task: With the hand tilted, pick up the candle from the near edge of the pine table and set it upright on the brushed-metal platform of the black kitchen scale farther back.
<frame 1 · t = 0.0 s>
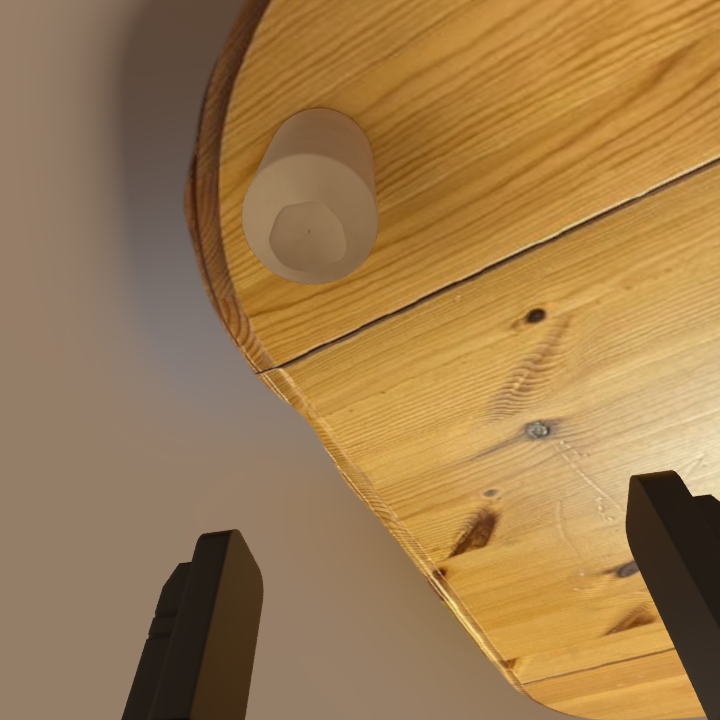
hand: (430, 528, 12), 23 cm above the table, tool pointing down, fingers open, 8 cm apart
candle: (321, 161, 30), on the table
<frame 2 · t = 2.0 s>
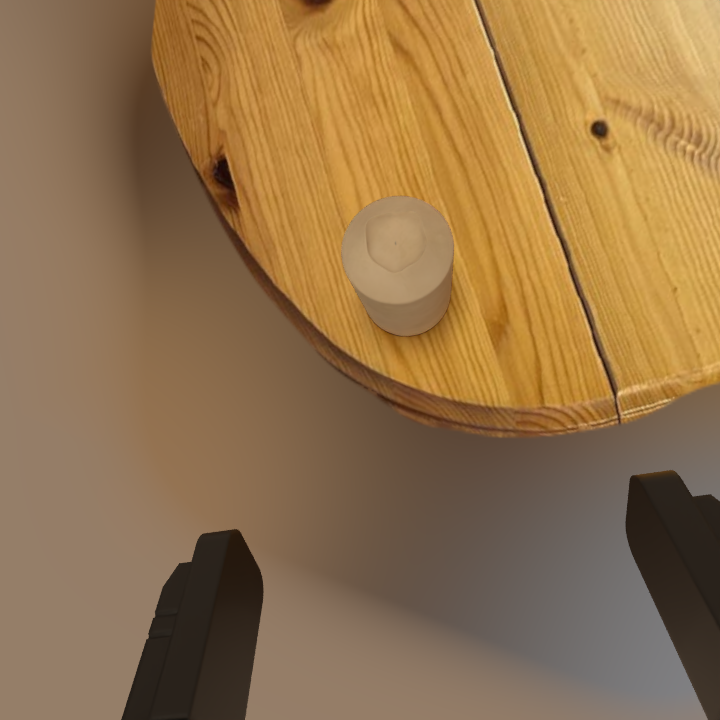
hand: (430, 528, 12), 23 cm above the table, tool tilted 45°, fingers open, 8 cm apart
candle: (407, 295, 36), on the table
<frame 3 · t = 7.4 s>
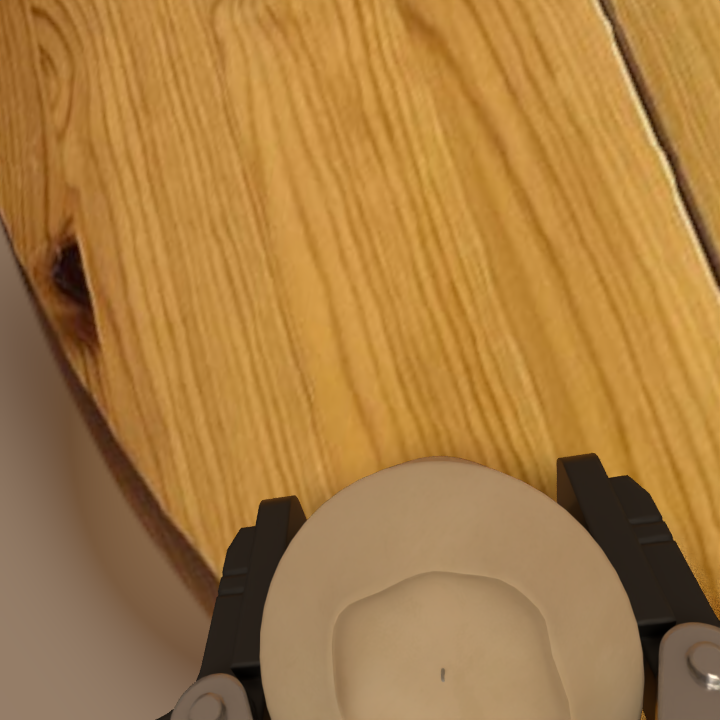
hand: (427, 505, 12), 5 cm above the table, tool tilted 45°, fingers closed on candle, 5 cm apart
candle: (442, 550, 17), on the table, touching gripper
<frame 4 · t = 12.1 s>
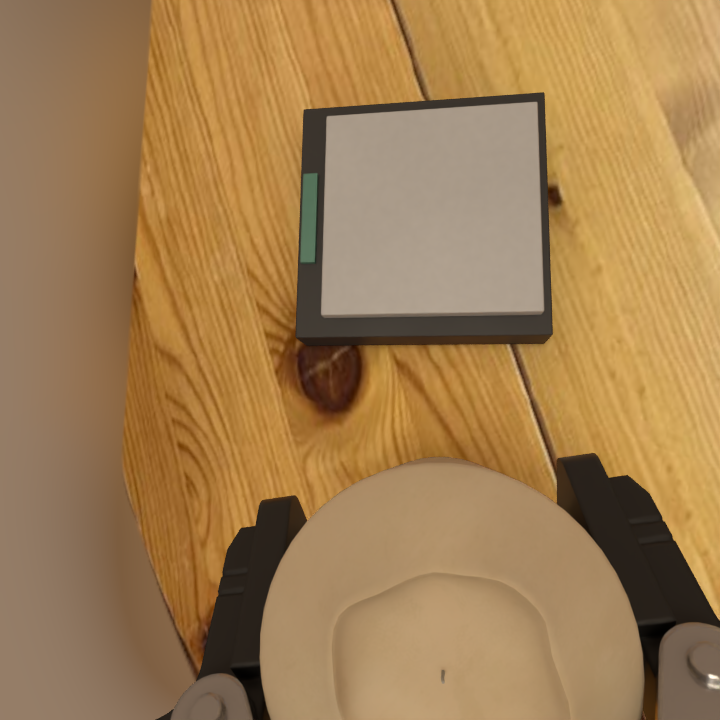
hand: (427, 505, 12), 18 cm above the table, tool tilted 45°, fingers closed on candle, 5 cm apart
candle: (442, 550, 17), point 13 cm above the table, touching gripper
scale: (421, 231, 32), on the table
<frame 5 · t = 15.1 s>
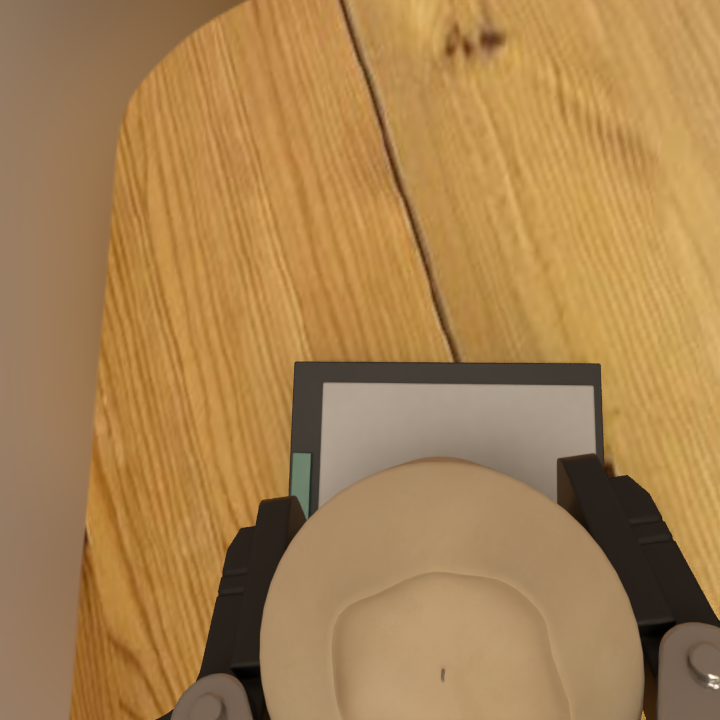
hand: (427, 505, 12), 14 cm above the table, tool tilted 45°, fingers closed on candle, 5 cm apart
candle: (442, 550, 17), point 9 cm above the table, touching gripper
scale: (440, 511, 26), on the table
when the fingers open (8 cm above the table, at t = 17.3 s): candle stays where it is, resting on scale.
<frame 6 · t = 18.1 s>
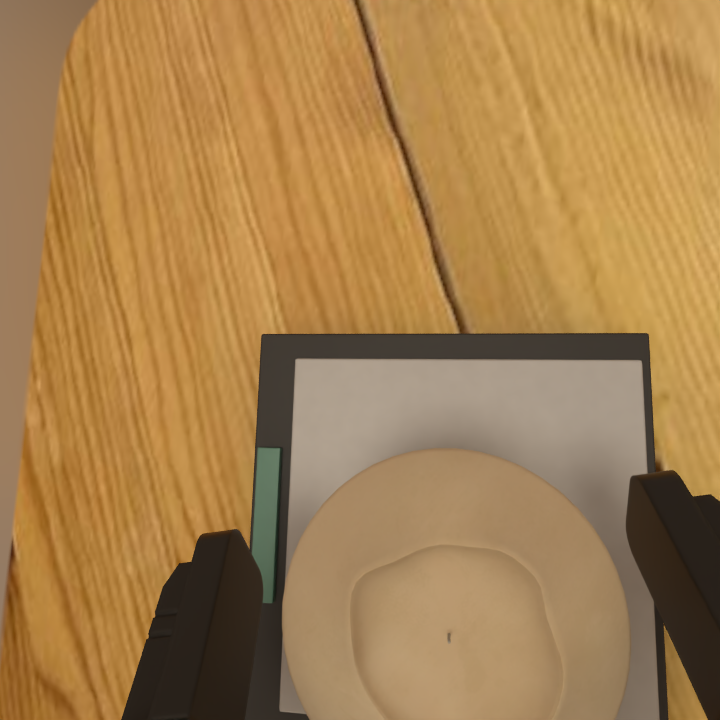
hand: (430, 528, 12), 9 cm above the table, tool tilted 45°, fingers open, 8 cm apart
candle: (446, 538, 18), point 3 cm above the table, touching scale
scale: (444, 521, 20), on the table
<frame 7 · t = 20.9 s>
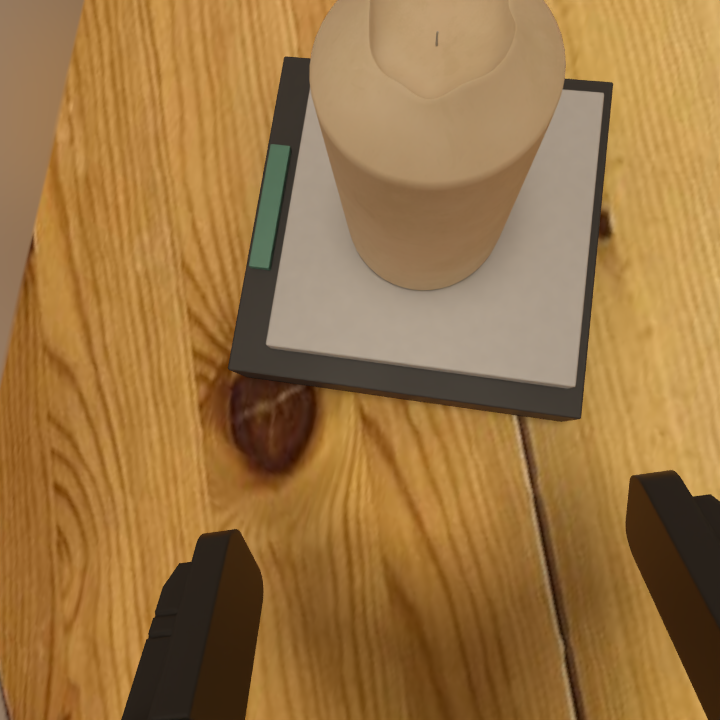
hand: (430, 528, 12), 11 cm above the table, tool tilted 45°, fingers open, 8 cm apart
candle: (424, 221, 21), point 3 cm above the table, touching scale
scale: (420, 246, 24), on the table
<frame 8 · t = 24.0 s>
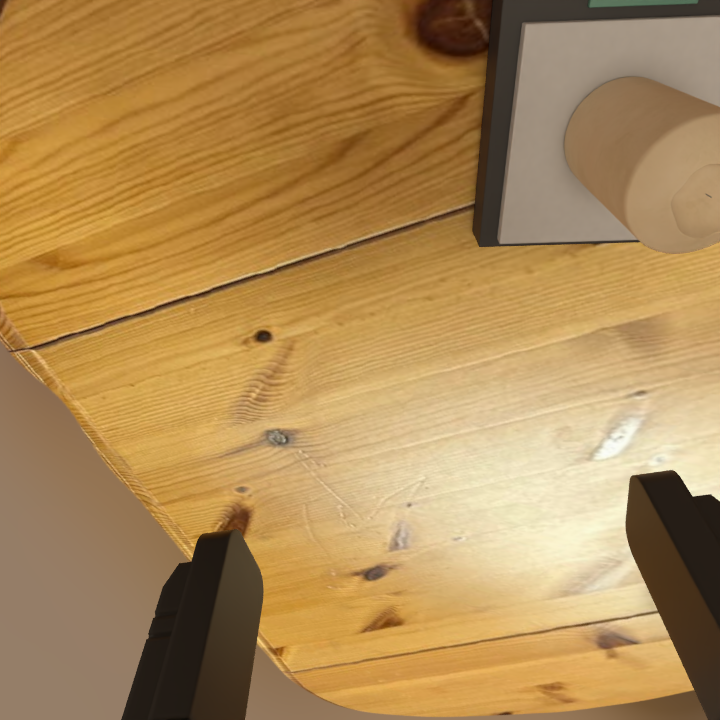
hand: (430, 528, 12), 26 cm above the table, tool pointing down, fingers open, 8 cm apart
candle: (615, 133, 29), point 3 cm above the table, touching scale
scale: (598, 118, 32), on the table
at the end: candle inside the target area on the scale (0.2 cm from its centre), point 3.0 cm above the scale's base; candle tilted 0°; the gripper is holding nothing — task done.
